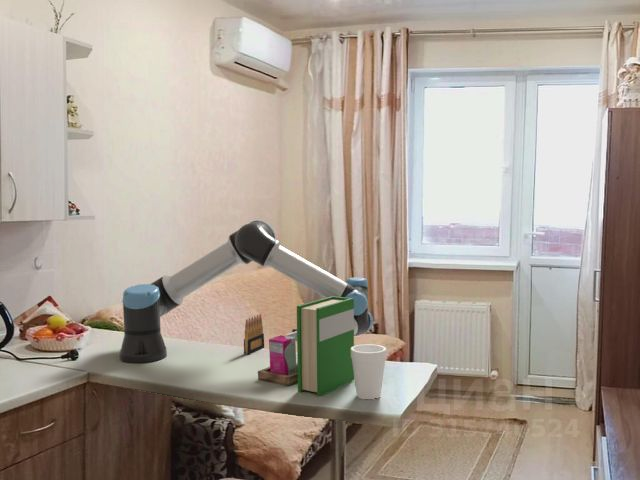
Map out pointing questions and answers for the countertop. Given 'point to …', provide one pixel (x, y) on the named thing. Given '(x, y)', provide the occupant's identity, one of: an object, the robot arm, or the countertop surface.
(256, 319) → the ammunition clip
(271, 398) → the countertop surface
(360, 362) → the foam cup
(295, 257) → the robot arm
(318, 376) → the hardback book
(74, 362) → the countertop surface
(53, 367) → the countertop surface
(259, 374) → the shallow wooden tray
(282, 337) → the supplement box
